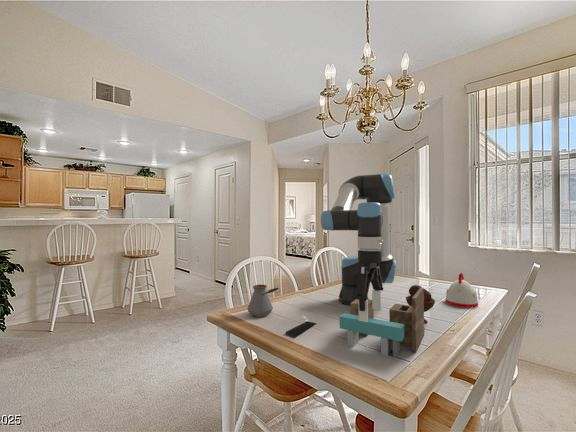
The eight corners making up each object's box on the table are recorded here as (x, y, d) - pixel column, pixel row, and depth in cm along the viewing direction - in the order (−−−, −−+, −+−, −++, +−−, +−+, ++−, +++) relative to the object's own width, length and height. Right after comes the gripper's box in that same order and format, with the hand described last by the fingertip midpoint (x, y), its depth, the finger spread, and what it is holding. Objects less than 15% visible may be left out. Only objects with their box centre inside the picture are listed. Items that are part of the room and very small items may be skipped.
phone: (323, 325, 115) (300, 337, 103) (323, 328, 115) (301, 340, 103) (306, 321, 120) (284, 332, 108) (307, 323, 120) (284, 335, 108)
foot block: (350, 335, 106) (350, 303, 106) (358, 328, 113) (358, 297, 113) (366, 339, 103) (366, 305, 103) (373, 331, 109) (373, 300, 110)
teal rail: (339, 343, 98) (339, 316, 98) (344, 338, 101) (344, 312, 101) (401, 358, 87) (401, 328, 87) (404, 352, 90) (404, 323, 90)
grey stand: (347, 348, 96) (347, 330, 96) (353, 343, 100) (352, 325, 100) (387, 358, 89) (387, 339, 89) (391, 352, 93) (391, 333, 93)
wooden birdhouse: (386, 349, 95) (386, 294, 95) (398, 332, 108) (397, 284, 108) (416, 356, 90) (415, 298, 90) (424, 338, 103) (423, 287, 103)
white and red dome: (442, 303, 144) (442, 273, 144) (449, 298, 154) (449, 269, 154) (475, 309, 134) (474, 277, 134) (480, 302, 145) (479, 273, 145)
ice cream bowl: (423, 328, 112) (423, 289, 112) (400, 319, 122) (400, 284, 122) (441, 323, 117) (440, 286, 117) (417, 315, 127) (417, 281, 127)
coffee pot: (243, 313, 132) (242, 280, 132) (264, 308, 139) (264, 277, 139) (266, 327, 115) (266, 290, 115) (290, 321, 121) (289, 286, 122)
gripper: (368, 254, 82) (369, 329, 81) (391, 247, 102) (391, 307, 102) (343, 252, 86) (344, 324, 85) (370, 246, 107) (371, 303, 106)
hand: (370, 315), depth 94 cm, fingers open, 13 cm apart
